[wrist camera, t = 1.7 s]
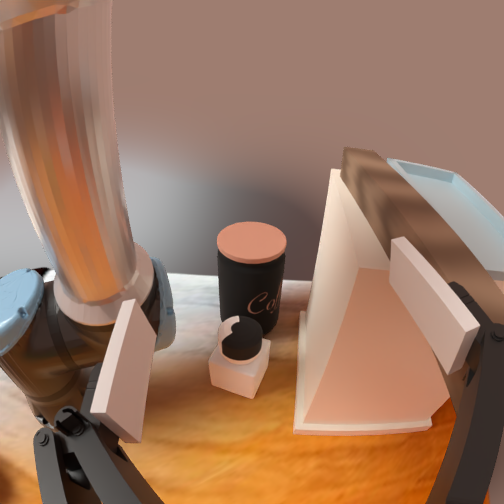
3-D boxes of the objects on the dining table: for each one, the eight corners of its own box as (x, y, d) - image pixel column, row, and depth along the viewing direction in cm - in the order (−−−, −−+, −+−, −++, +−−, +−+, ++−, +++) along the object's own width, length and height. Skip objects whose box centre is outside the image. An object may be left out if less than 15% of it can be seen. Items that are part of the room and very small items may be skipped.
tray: (533, 283, 20) (543, 263, 19) (447, 275, 21) (458, 250, 20) (452, 187, 39) (456, 172, 37) (384, 174, 40) (387, 157, 38)
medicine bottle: (268, 366, 49) (274, 317, 42) (252, 400, 43) (256, 356, 36) (228, 353, 51) (226, 304, 44) (210, 385, 45) (204, 339, 38)
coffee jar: (249, 351, 51) (253, 269, 41) (209, 318, 57) (202, 237, 47) (288, 319, 58) (300, 239, 47) (248, 292, 63) (250, 214, 53)
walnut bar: (504, 404, 11) (544, 361, 9) (458, 420, 11) (501, 377, 9) (368, 179, 37) (373, 150, 35) (339, 176, 37) (344, 146, 35)
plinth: (426, 430, 36) (542, 290, 19) (293, 434, 38) (347, 274, 21) (403, 324, 56) (457, 188, 39) (298, 317, 58) (323, 165, 41)
